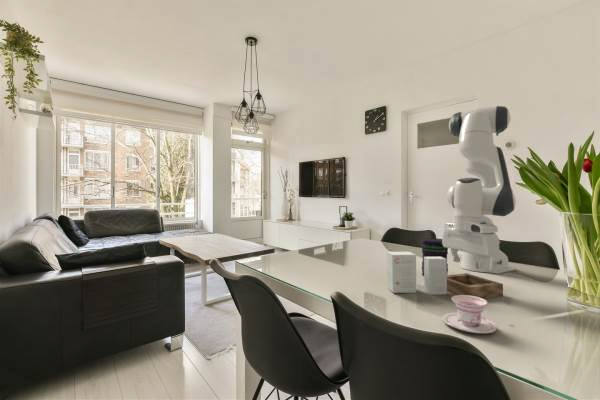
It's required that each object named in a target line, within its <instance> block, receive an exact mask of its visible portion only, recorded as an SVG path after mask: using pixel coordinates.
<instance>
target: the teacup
mask: <svg viewBox="0 0 600 400" xmlns="http://www.w3.org/2000/svg"><path fill="white" fill-rule="evenodd" d="M450 299H451V301H452V302H453V304H454V307H455V308H456V311H457V312H455V311H454V312H447V313H445V314H443V315H442V321H443V322H444V323H445V324H446V325H448V326H450V327H452V328H455V329H458V330H460V331H463V332H468V333H474V334H491V333H494V332H496V331H497V329H498V328H497V325H496V324H495V323H494V322H493V321H491V320H490V319H488V318H486V317H483V316H482V313H483V312H484V310H485V308H486V307H487V305H488V301H487V300H486V299H485V298H484V299H482V298H479V297H475V296H470V295H453V296H451V298H450Z"/></svg>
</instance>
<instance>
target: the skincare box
mask: <svg viewBox="0 0 600 400" xmlns="http://www.w3.org/2000/svg"><path fill="white" fill-rule="evenodd" d="M447 264H448V258H447V259H446V258H443V257H440V256H439V257H424V276H423V285H424V286H423V288H424V289H423V291H424V292H425V293H427V294H428V295H432V296H433V295H448V292H447V275H448V274H447V268H448V267H447Z"/></svg>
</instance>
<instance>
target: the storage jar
mask: <svg viewBox="0 0 600 400" xmlns="http://www.w3.org/2000/svg"><path fill="white" fill-rule="evenodd" d="M421 249H422V250H421V253H422V261H421V271H422V273H421V276H422V277H424V257H439V256H440V257H443V258H446V259H447V260H448V253H449V252H448V250H449V248H446V247H444V246H443V244H442V238H436V237H435V238H430V237H429V238H428V237H427V238H422V239H421ZM448 267H449V265H448V263H447V275H449V274H448V272H449V268H448Z"/></svg>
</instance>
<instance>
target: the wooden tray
mask: <svg viewBox="0 0 600 400" xmlns="http://www.w3.org/2000/svg"><path fill="white" fill-rule="evenodd" d="M447 293H449V294H453V296H456V295H470V296H475V297H479V298H482V299H484V300H485V299H490V298H498V297H503V296H504V284H503V283H502V282H498V281H495V280H491V279H487V278H484V277H481V276H477V275H473V274H471V273H467V272H466V273H457V274H447Z"/></svg>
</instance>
